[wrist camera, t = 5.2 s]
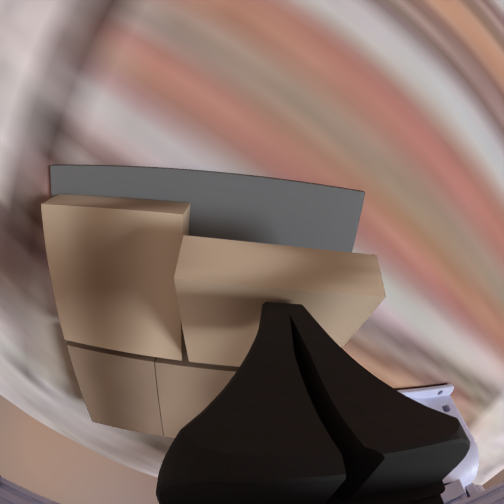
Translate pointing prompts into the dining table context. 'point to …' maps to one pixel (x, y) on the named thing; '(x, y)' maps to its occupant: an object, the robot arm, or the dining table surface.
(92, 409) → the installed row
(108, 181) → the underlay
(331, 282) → the plank
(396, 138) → the dining table surface
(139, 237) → the plank
